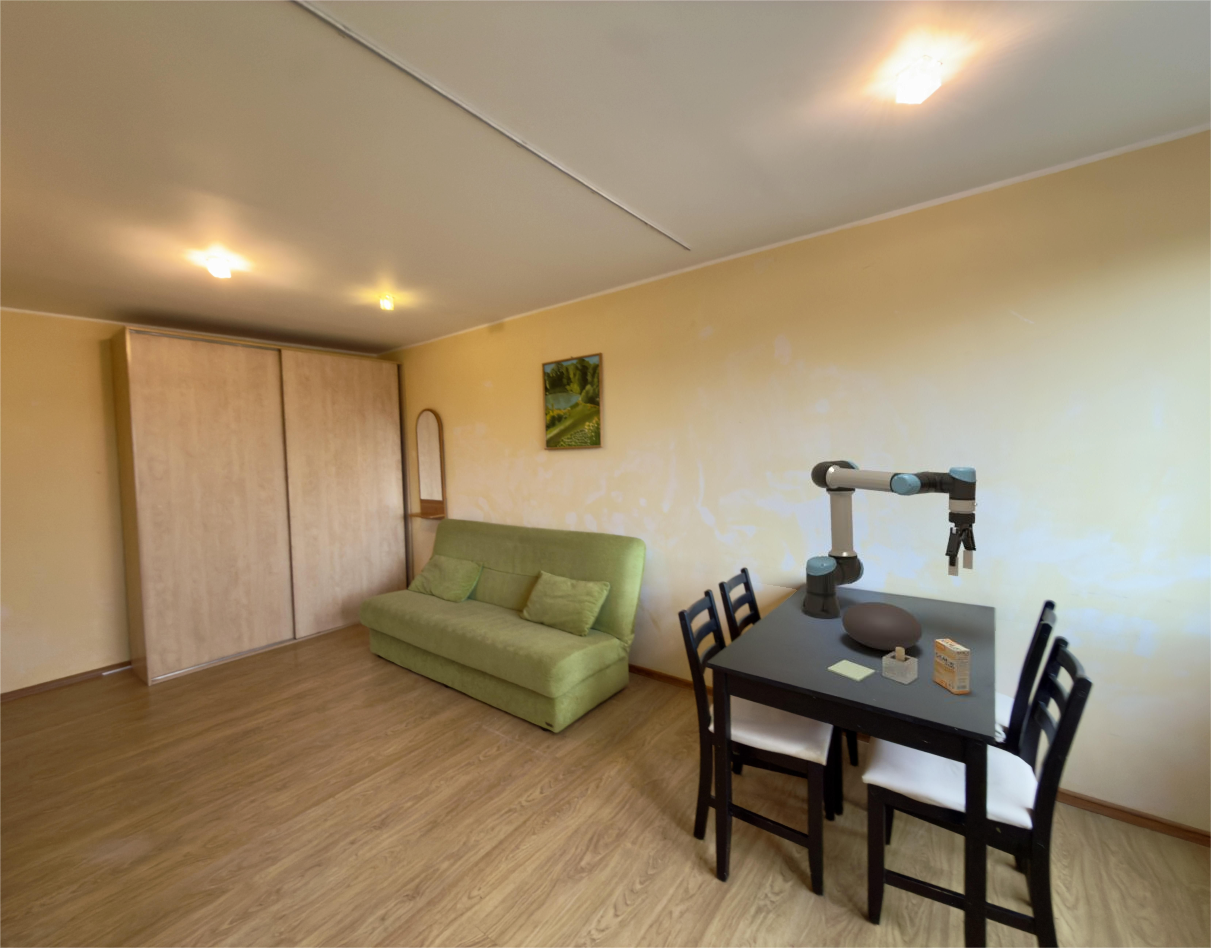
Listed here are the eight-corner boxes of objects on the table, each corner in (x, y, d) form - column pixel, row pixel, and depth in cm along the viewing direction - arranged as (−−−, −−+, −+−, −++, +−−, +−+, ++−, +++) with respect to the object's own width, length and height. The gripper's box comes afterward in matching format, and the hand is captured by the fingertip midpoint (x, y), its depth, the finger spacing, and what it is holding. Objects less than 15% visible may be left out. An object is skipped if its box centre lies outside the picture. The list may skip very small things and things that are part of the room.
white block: (882, 675, 152) (882, 657, 152) (893, 669, 156) (893, 651, 156) (906, 684, 147) (906, 665, 146) (917, 677, 151) (917, 658, 150)
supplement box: (932, 681, 148) (933, 638, 148) (947, 680, 149) (948, 638, 148) (954, 694, 140) (955, 650, 139) (970, 693, 141) (971, 649, 140)
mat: (827, 669, 157) (827, 668, 157) (844, 661, 163) (844, 659, 163) (858, 681, 149) (858, 679, 149) (875, 672, 155) (875, 670, 155)
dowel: (893, 676, 152) (894, 648, 151) (897, 674, 153) (897, 646, 153) (902, 679, 150) (902, 650, 149) (905, 677, 151) (906, 648, 151)
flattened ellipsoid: (873, 664, 160) (874, 619, 159) (827, 635, 185) (827, 596, 184) (939, 657, 164) (940, 613, 163) (886, 629, 189) (886, 591, 188)
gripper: (961, 516, 159) (959, 580, 161) (987, 509, 174) (985, 567, 175) (935, 514, 165) (934, 576, 167) (962, 507, 180) (961, 563, 181)
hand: (960, 571), depth 171 cm, fingers open, 13 cm apart
